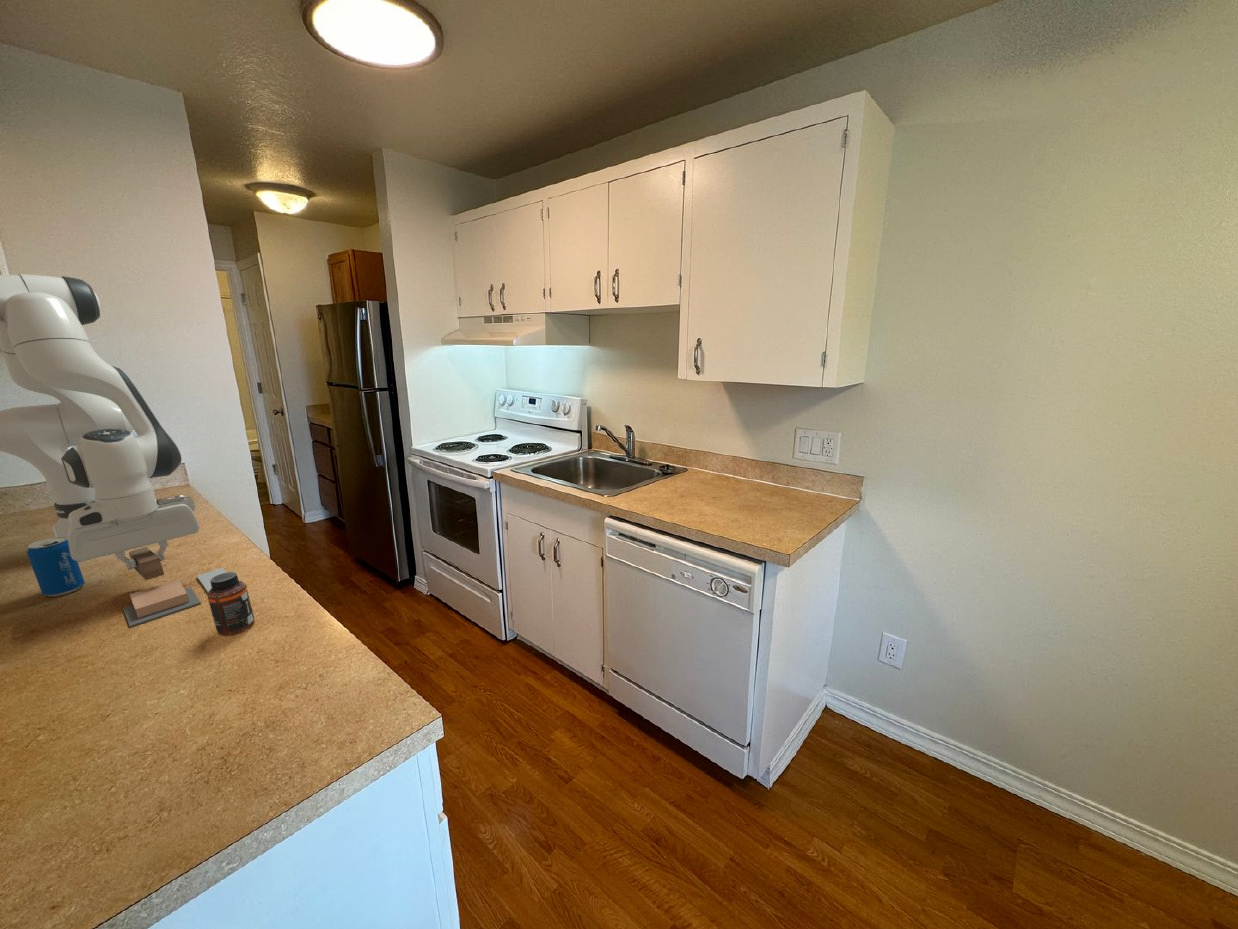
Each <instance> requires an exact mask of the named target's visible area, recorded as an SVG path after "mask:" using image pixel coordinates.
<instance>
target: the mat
mask: <svg viewBox="0 0 1238 929" xmlns="http://www.w3.org/2000/svg"><path fill="white" fill-rule="evenodd" d="M184 589H185V591H186V592H187V595H188V599H189V602H186V603H183V604H180V605H177V606H174V607H171V608H168V609H165V610H162V611H159V612H155V613H152V614H149V615H146V616H143V617H140V618H138V617H137V614H136V611H135V609H134V606H133V604H132V605H128V606H125V607H122V609H123V612H124V614H125V617H126V621H127V623H128V625H129V628H133V627H136V626H140V625H142V624H146V623H149V622H152V621H155V620H157V619H161V618H164V617H167V616H169V615H172V614H174V613H179V612H182V611H185V610H188V609H190V608H193V607H196V606H200V605H202V601H201V600H200V599H199V597H198V596H197V594H196V593H195V591H194V590H193V588H192V587H191V586H190V587H186V588H184Z"/></svg>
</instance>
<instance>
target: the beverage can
mask: <svg viewBox="0 0 1238 929" xmlns="http://www.w3.org/2000/svg"><path fill="white" fill-rule="evenodd" d="M27 548H28V549H27V551H26V554H27V557H28V560H29V562H30V564H31V567H32V570H33V572H34V575H35V578H36V580H37V583H38V586H39V589H40V591H41V594H42V595H43V596H48V597H53V598H54V597H59V596H60V597H61V596H64V595H69V594H71V593H74V592H76V591H78V590H79V589H81V587H82V586H84V584H85V583H86V582H85V579H84V576H83V574H82V570H81V567H80V565H79V562H77V561H75V560H73V559H72V557H71V554H70V550H69V544H68V540H66V537H55V536H54V537H49V538H44V539H41V540H38V541H37V540H36V541H35V542H32V543H30V544H28V545H27Z"/></svg>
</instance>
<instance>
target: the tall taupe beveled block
mask: <svg viewBox="0 0 1238 929" xmlns="http://www.w3.org/2000/svg"><path fill="white" fill-rule="evenodd" d="M128 553H129V557H130V559H133V558H134V559H135V562H136V565H137V568H133V569H134V570H135V572H136V573H138V574H139V575H140V576H141V577H142V578H143V579H144V580H145V581H148V580H152V579H155V578H158V577H161V576H165V572H164V569H163V565H162V563H161V562H162V561H160V558H159V557H158V556H156V555H155V554H154V553H155V552H153V551H152V550H151V549H150V548H148V546H144V547H140V548H138V549H135V550H134V549H133V550H129V551H128Z"/></svg>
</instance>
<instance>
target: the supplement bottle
mask: <svg viewBox="0 0 1238 929" xmlns="http://www.w3.org/2000/svg"><path fill="white" fill-rule="evenodd" d="M226 572H227V573H223V574H219V575H217V576H215V577H213V578H212V579H211V580H210V582H211V587H212V588H211V589H210V590H209V592H207V601H208V603H209V604H208V605H209V608H210V611H211V616H212V618H213V623H214V626H215V629H216V632H217V634H218V635H219V636H222V637H229V636H236V635H238V634H241V633H243V632H245V631H247V630H249V629H250V628H252V627H253V626H254V624H255V616H254V611H253V608H252V603H251V599H250V595H249V592H248V591H249V590H248V588H247V584H246V583H245V582H244V581H242V580H239V578H238V575H237V572H233V571H230V572H229V571H226Z"/></svg>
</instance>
